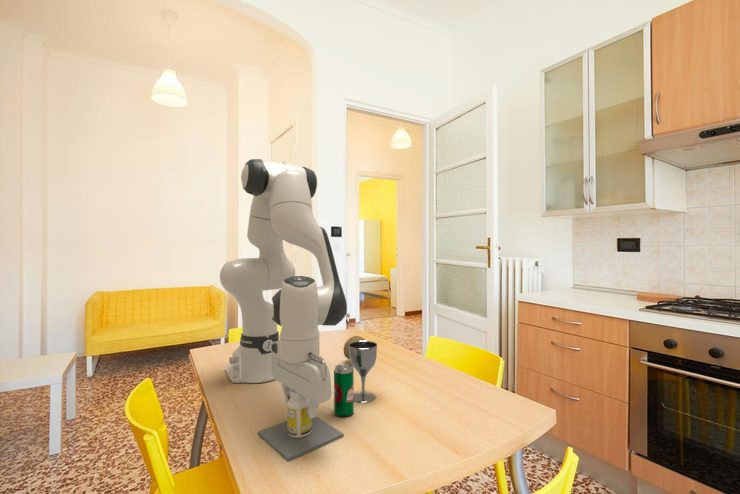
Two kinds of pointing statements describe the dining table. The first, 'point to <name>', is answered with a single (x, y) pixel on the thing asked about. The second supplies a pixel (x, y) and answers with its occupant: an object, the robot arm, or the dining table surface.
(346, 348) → the natural sponge
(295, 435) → the supplement bottle
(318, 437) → the mat
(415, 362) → the dining table surface
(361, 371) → the wine glass
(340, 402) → the soda can
